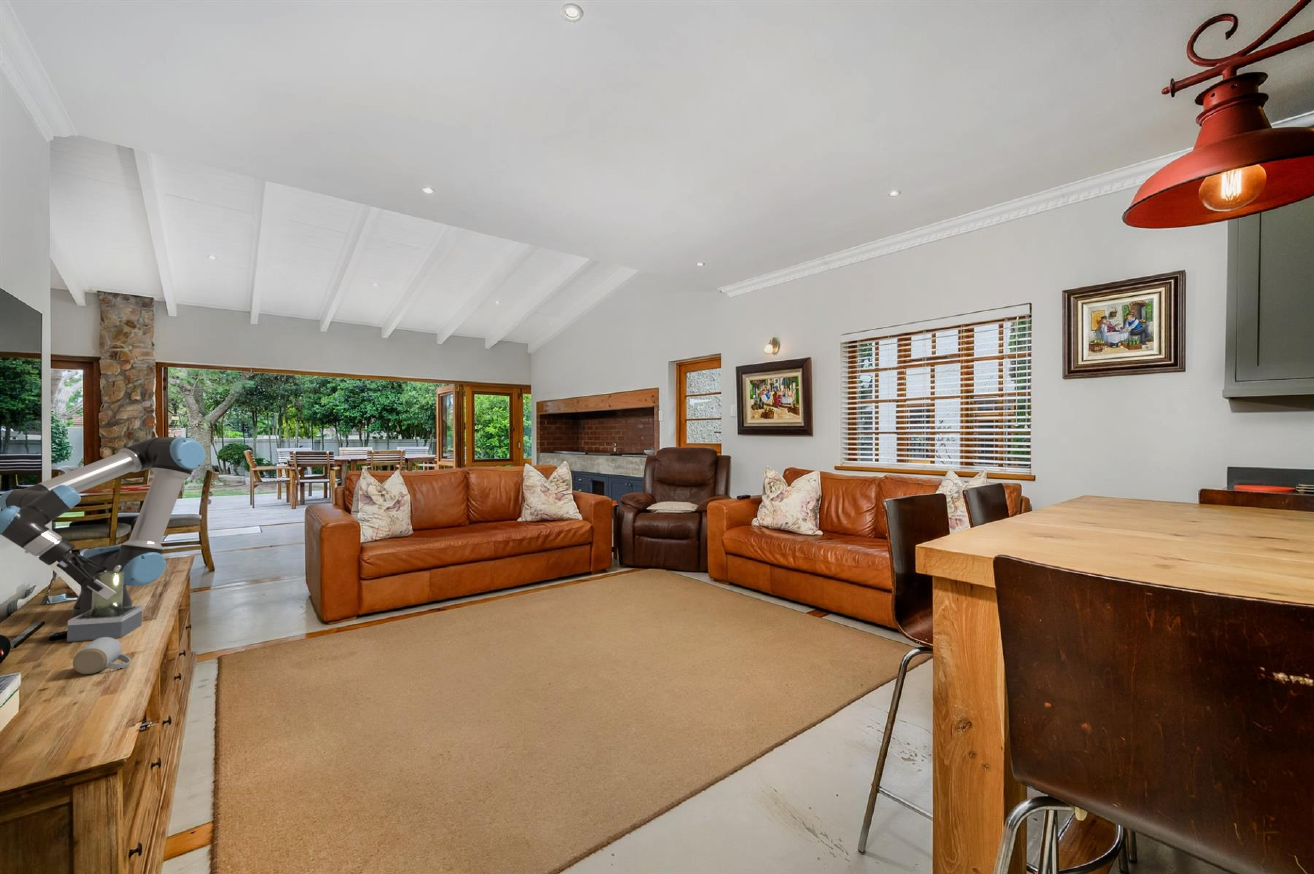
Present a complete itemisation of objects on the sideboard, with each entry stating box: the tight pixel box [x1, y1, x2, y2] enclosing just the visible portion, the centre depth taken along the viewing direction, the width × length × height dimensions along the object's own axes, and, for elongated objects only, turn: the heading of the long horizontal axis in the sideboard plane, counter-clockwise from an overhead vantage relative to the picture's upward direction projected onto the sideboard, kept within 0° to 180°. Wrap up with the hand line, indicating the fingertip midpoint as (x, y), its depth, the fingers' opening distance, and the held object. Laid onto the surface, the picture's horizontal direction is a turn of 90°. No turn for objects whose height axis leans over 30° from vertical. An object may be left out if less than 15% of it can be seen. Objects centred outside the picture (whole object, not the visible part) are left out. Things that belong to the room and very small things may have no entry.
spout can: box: [91, 565, 124, 618], centre depth 177 cm, size 7×7×16 cm
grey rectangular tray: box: [66, 605, 143, 643], centre depth 178 cm, size 16×13×6 cm
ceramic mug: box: [72, 637, 131, 675], centre depth 150 cm, size 11×8×8 cm
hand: (115, 591), depth 178 cm, fingers open, 13 cm apart
